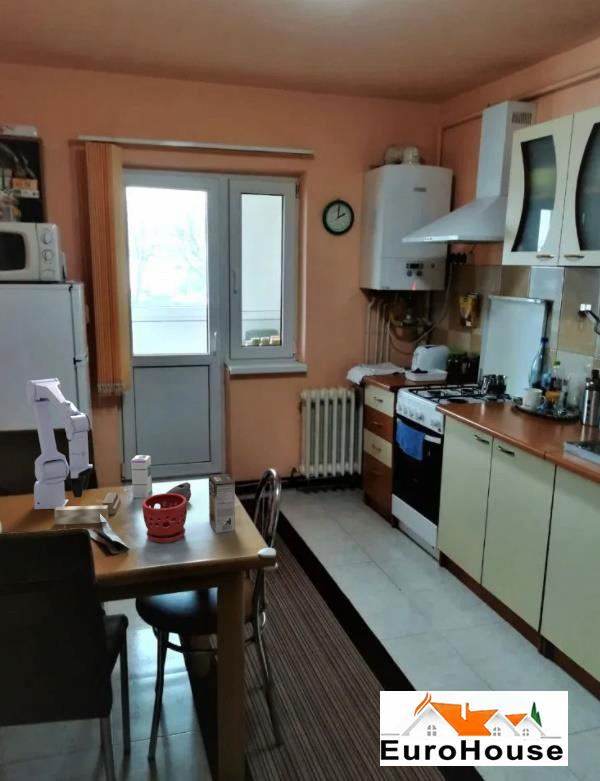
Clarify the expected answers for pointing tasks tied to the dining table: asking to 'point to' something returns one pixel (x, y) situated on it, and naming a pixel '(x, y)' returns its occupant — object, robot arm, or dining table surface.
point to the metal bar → (80, 514)
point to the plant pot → (165, 517)
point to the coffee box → (221, 503)
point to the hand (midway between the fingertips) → (80, 493)
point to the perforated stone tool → (181, 491)
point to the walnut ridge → (112, 502)
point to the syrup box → (141, 476)
